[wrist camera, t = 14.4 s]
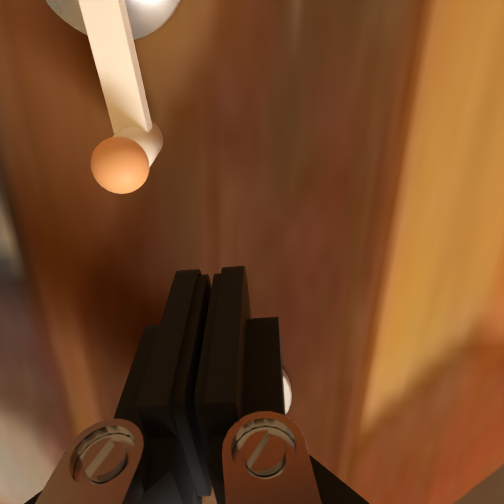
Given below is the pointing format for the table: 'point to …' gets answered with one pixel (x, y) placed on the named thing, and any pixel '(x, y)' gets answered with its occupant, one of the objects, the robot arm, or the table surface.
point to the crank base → (138, 8)
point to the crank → (120, 99)
